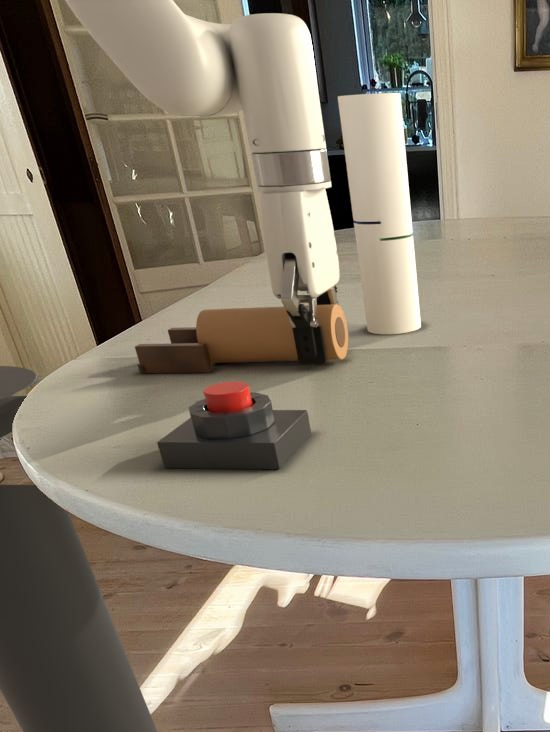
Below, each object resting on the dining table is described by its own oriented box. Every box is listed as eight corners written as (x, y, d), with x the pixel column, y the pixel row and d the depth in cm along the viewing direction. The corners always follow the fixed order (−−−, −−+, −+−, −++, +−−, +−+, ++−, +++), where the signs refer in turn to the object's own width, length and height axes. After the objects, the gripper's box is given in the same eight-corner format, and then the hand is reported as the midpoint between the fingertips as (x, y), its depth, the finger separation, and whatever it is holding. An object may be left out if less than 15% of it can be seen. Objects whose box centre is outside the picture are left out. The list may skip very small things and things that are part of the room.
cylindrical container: (377, 321, 102) (350, 97, 87) (427, 321, 100) (408, 93, 86) (360, 334, 96) (328, 96, 82) (412, 334, 95) (389, 92, 80)
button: (201, 416, 60) (195, 394, 59) (219, 402, 63) (214, 381, 62) (242, 416, 59) (237, 394, 58) (259, 402, 62) (255, 381, 61)
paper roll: (225, 355, 90) (351, 351, 88) (205, 369, 85) (337, 365, 83) (212, 304, 87) (343, 299, 84) (190, 315, 82) (328, 310, 80)
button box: (164, 468, 61) (149, 420, 58) (207, 433, 67) (195, 389, 65) (279, 469, 59) (269, 420, 57) (311, 434, 66) (303, 389, 63)
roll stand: (240, 352, 91) (234, 326, 90) (208, 373, 84) (201, 345, 82) (176, 352, 92) (169, 327, 91) (139, 373, 85) (131, 346, 83)
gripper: (287, 169, 83) (315, 338, 93) (222, 181, 69) (264, 378, 79) (351, 166, 82) (372, 337, 92) (299, 177, 68) (331, 377, 78)
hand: (322, 354), depth 85 cm, fingers closed on paper roll, 5 cm apart
